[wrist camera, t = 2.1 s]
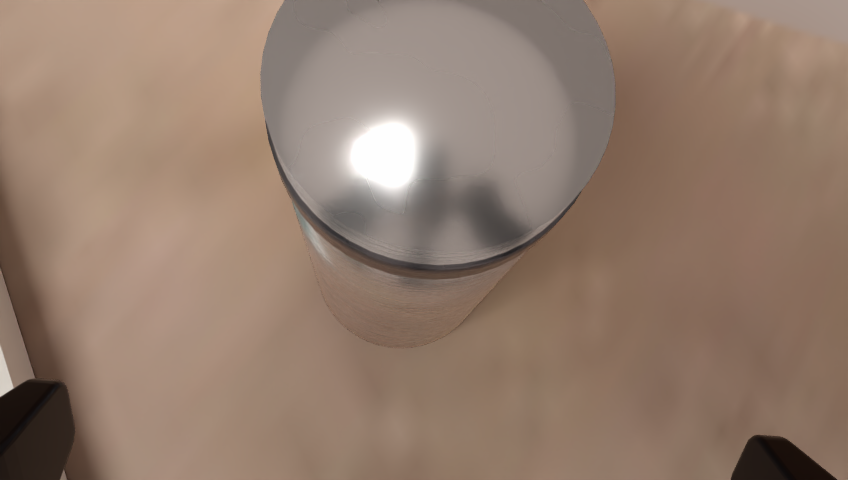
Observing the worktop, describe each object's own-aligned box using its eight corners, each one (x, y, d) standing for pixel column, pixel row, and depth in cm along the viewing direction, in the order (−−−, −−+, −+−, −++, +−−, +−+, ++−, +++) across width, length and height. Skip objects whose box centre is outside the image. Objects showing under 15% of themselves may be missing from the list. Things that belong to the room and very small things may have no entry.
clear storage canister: (516, 295, 22) (688, 145, 10) (369, 382, 21) (372, 326, 9) (430, 155, 23) (497, -128, 11) (284, 233, 22) (191, 11, 10)
